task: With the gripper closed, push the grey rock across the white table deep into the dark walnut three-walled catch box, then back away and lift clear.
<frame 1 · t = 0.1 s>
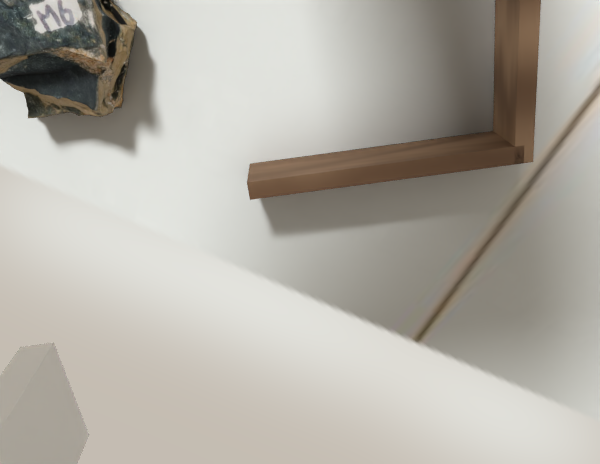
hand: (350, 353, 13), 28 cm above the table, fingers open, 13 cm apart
rock: (72, 41, 36), on the table
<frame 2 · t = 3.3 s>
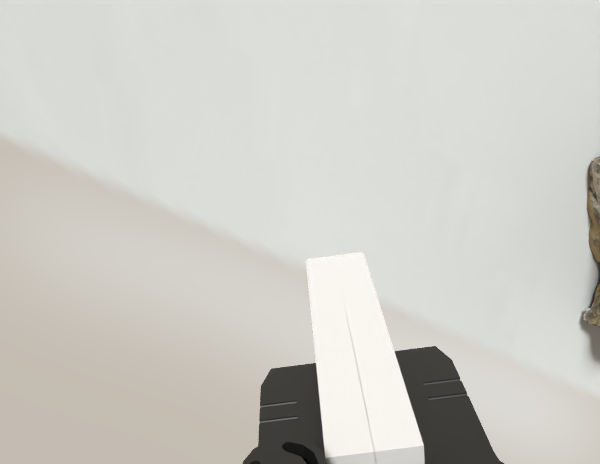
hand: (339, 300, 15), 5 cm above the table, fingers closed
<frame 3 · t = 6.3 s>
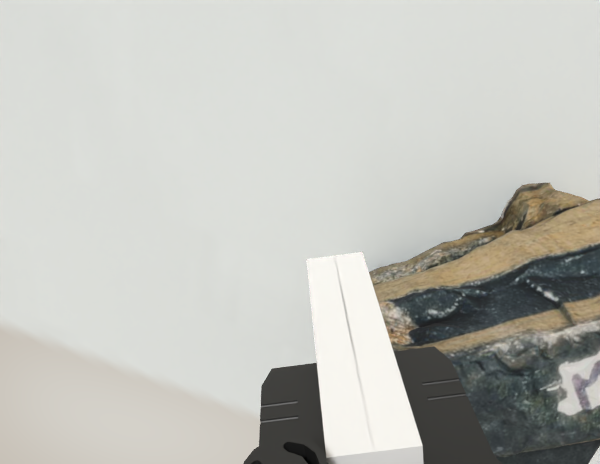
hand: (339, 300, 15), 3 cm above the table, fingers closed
rock: (473, 317, 19), on the table
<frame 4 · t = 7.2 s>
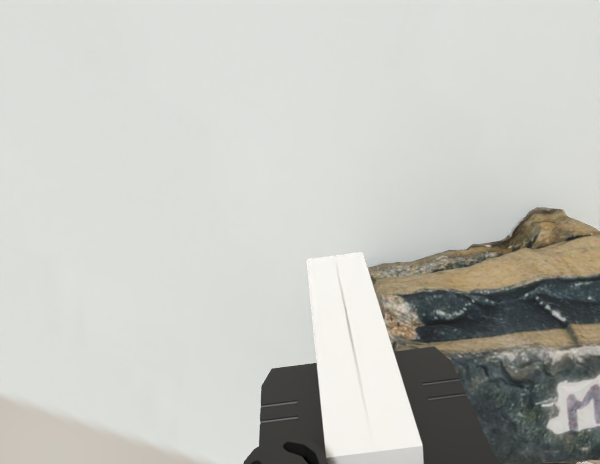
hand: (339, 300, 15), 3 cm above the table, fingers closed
rock: (460, 329, 19), on the table, touching gripper
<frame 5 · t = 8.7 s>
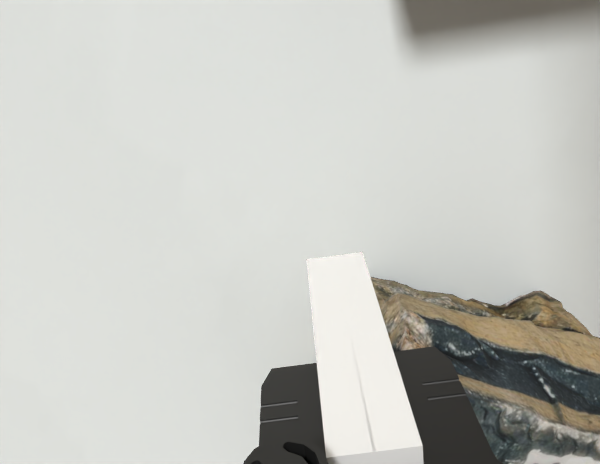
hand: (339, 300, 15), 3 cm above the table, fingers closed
rock: (418, 369, 20), on the table, touching gripper
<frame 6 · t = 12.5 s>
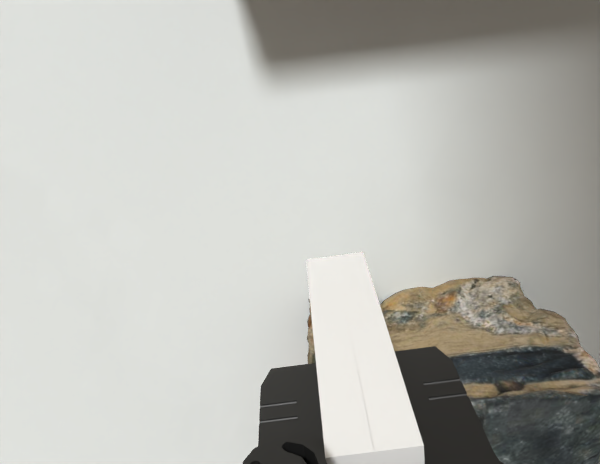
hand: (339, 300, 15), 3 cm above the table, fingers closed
rock: (426, 370, 20), on the table
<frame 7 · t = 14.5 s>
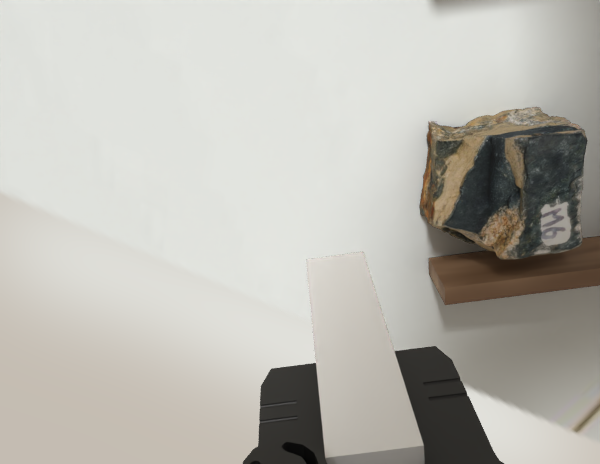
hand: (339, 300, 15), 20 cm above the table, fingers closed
catch box: (574, 91, 33), on the table
rock: (488, 170, 35), on the table
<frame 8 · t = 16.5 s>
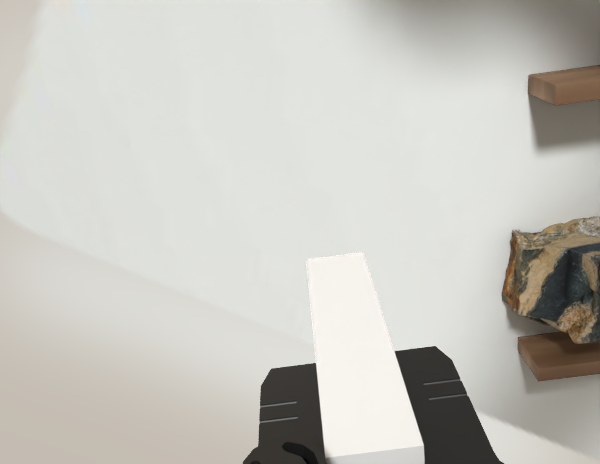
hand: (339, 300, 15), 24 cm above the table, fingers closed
rock: (558, 263, 43), on the table
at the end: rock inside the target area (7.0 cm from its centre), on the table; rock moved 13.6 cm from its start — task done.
